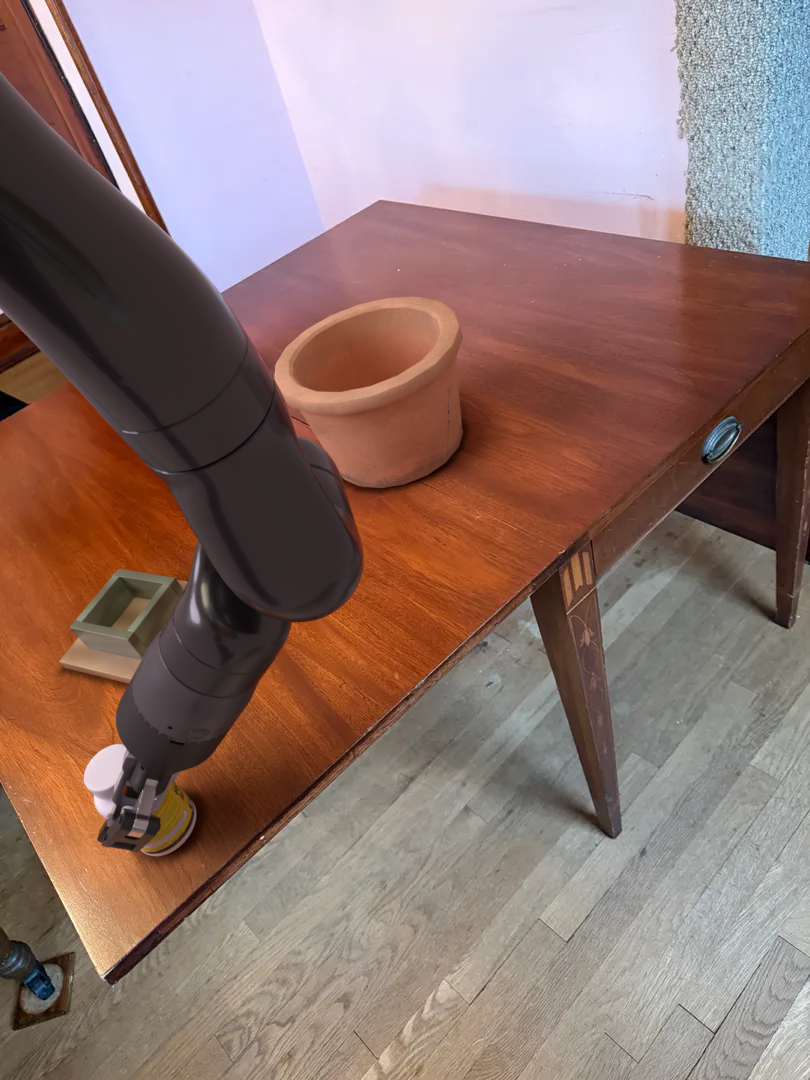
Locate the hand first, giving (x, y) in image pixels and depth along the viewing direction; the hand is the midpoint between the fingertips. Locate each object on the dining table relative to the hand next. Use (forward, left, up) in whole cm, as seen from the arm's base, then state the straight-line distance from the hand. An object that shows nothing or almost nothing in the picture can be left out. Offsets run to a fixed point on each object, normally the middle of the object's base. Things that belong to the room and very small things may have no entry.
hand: (120, 803), depth 60 cm
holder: (+19, +15, -5) cm, 25 cm away
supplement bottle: (+1, -2, -5) cm, 5 cm away
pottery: (+52, -2, -5) cm, 52 cm away
